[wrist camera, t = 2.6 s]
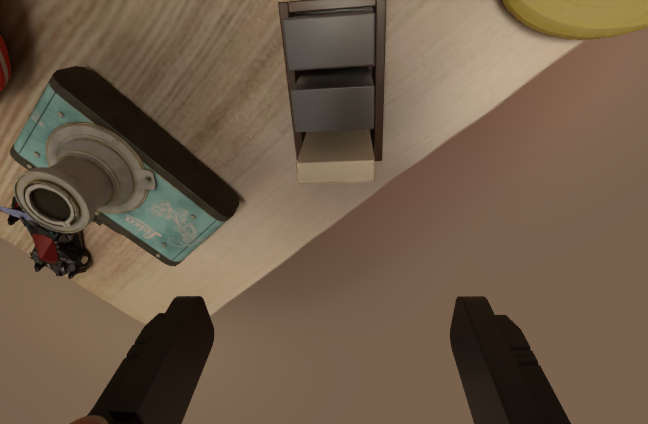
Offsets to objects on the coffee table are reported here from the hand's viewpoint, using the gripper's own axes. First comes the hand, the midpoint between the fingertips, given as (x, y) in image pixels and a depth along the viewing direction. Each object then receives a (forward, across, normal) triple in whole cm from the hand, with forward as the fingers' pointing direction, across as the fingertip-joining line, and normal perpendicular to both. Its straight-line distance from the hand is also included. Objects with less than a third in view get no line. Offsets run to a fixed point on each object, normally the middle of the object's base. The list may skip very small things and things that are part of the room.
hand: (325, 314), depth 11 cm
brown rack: (+21, 0, -3) cm, 21 cm away
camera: (+21, +19, +4) cm, 28 cm away
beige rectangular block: (+20, 0, 0) cm, 20 cm away
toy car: (+21, +31, +10) cm, 38 cm away
